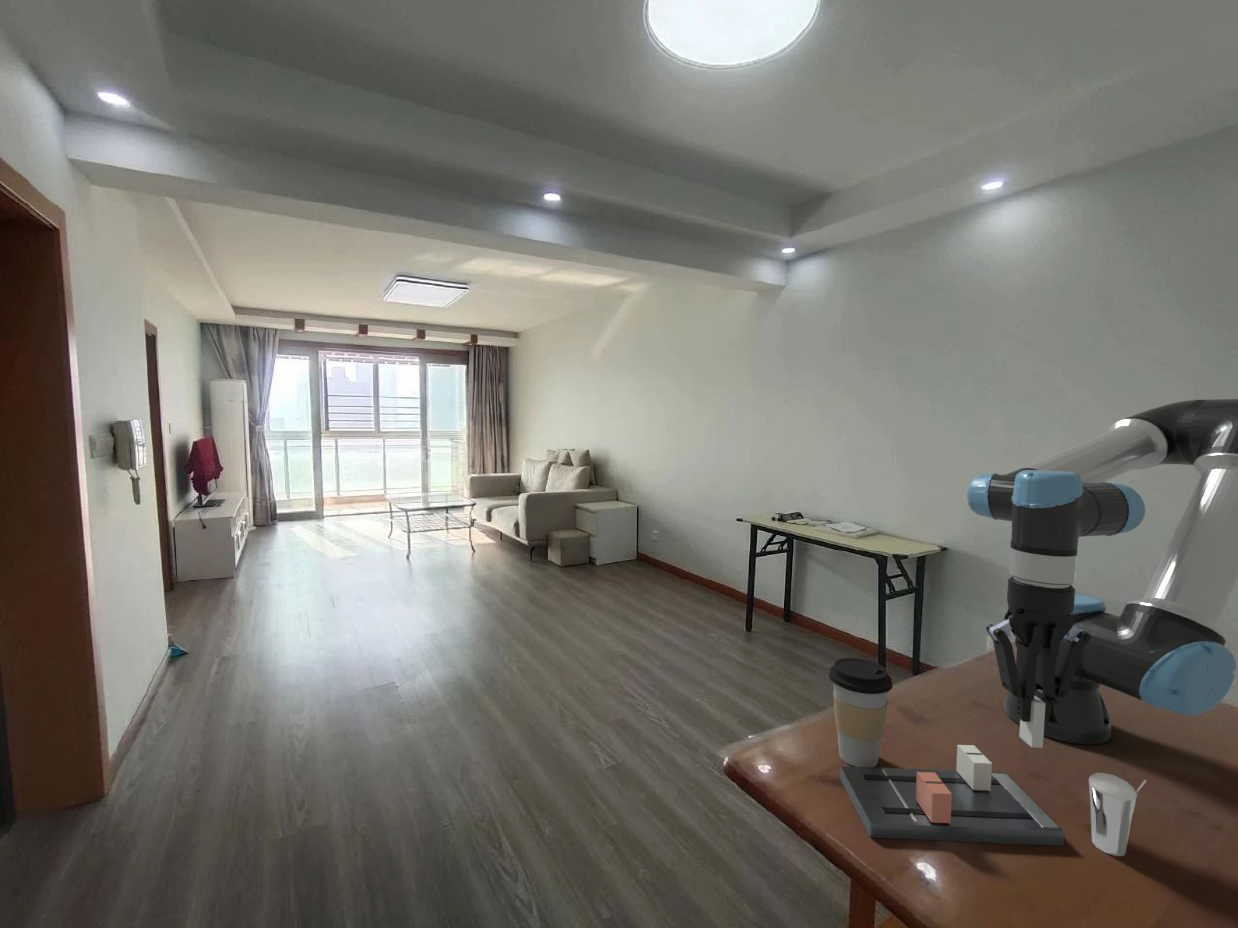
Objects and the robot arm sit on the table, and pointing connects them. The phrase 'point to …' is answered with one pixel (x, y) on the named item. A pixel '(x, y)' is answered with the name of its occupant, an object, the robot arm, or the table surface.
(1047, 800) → the table surface
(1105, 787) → the milkshake
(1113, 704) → the table surface
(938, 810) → the fader
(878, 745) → the coffee cup
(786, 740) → the table surface
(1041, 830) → the console
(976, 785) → the fader
